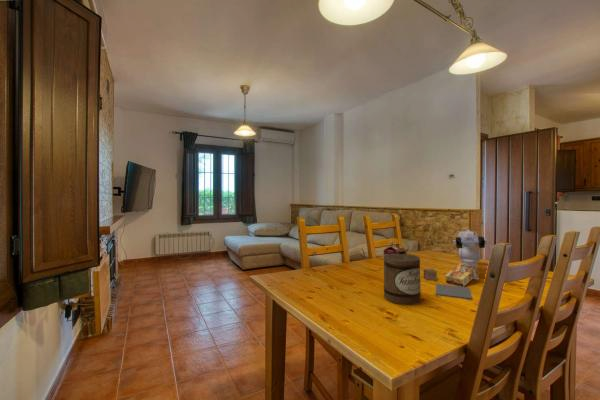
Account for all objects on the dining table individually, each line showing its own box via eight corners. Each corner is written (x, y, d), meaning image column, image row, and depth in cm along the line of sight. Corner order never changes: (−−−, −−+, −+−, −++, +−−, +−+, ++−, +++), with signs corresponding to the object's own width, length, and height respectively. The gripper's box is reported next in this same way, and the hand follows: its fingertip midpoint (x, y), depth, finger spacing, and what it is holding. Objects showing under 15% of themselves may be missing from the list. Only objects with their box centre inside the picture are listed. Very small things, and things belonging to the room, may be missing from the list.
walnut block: (423, 278, 151) (423, 268, 151) (433, 278, 151) (433, 268, 151) (426, 280, 147) (426, 271, 146) (436, 280, 146) (436, 271, 146)
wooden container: (403, 307, 111) (402, 252, 111) (376, 296, 124) (376, 246, 124) (428, 300, 118) (427, 248, 118) (400, 290, 131) (400, 244, 131)
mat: (436, 284, 139) (436, 283, 139) (468, 288, 133) (468, 287, 133) (435, 295, 125) (435, 293, 125) (472, 299, 118) (472, 298, 118)
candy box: (463, 287, 135) (478, 273, 143) (462, 279, 134) (477, 266, 142) (445, 282, 143) (461, 269, 150) (444, 274, 142) (460, 262, 150)
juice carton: (400, 286, 137) (399, 241, 137) (398, 290, 131) (398, 244, 131) (386, 285, 140) (385, 241, 140) (384, 289, 134) (383, 243, 134)
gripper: (452, 232, 149) (452, 237, 137) (485, 231, 142) (487, 236, 130) (454, 245, 149) (454, 251, 137) (486, 245, 142) (489, 251, 130)
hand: (470, 245), depth 134 cm, fingers open, 7 cm apart
